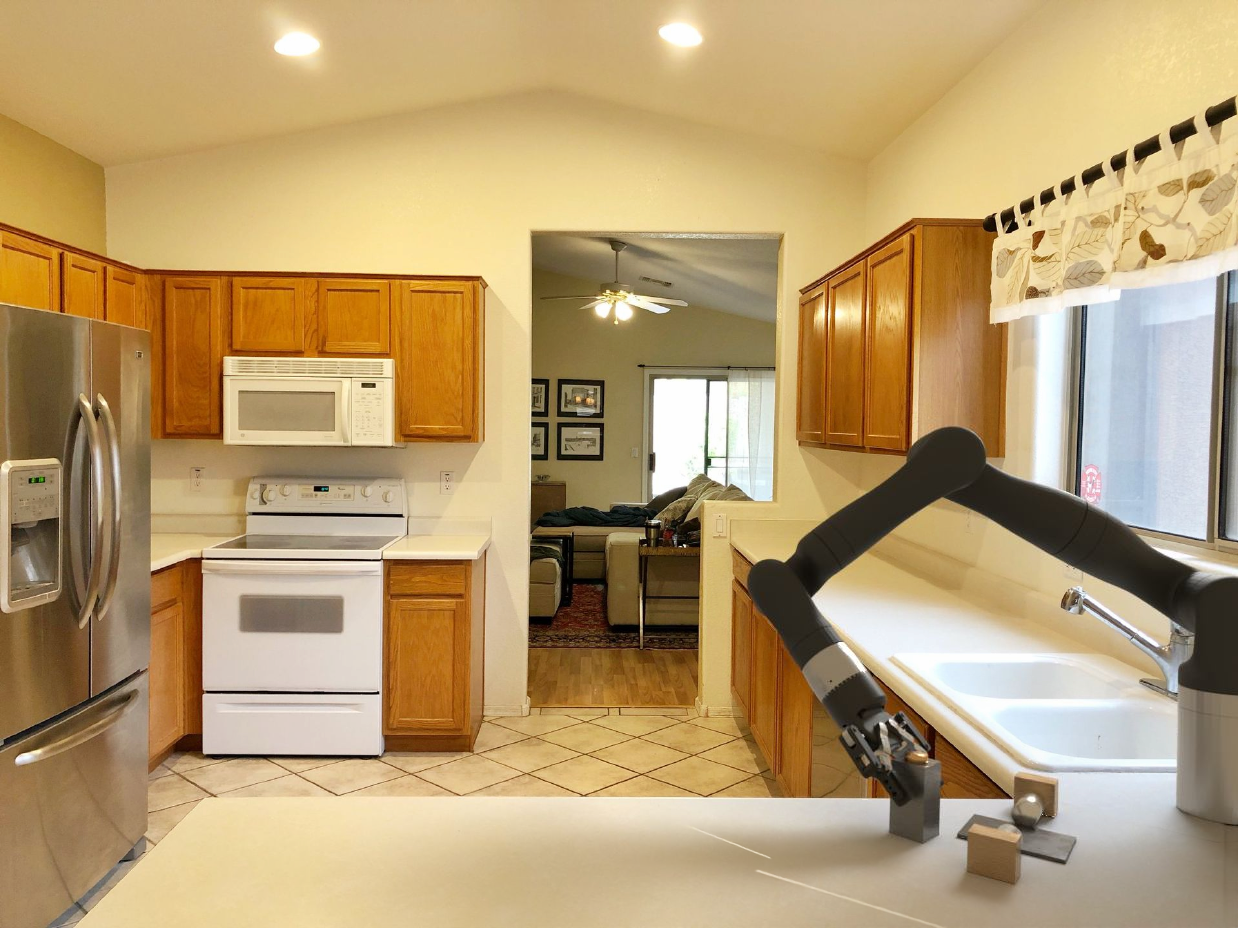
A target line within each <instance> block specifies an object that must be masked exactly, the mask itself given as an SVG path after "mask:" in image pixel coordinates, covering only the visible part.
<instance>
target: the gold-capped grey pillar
mask: <svg viewBox="0 0 1238 928" xmlns="http://www.w3.org/2000/svg"><path fill="white" fill-rule="evenodd" d="M890 761H891V765H892V770H891V771H893V770H895V771H896V773H897V774H898V776H899V777H900V778H901V780H902V781H903V783H904V784H905V785H906V787H907V788H908V790H909V791H910V792H911V794H912V796H913V798H912V800H910V801H909V802H908V803H906V804H905V805H904V806H901V807H899V806H897V805H896V803H895V802H894V800H893V799H892V798H891V797H890V796H889V820H888V821H889V824H888V826H889V827H888V833H889V834H892V835H895V836H899V837H901V838H904V839H907V840H911V841H914V842H917V843H918V844H921V845H922V844H925V843H927V842H928V841H930V839H931V840H933V839H934V838H936V837H938V836H939V835H940V822H941V821H940V820H941V819H940V815H941V813H940V812H941V788H940V783H941V778H942V776H941V775H942V774H941V773H942V761H940V760H936V759H933V758H929V754H928V753H927V754H926V753H923V752H919V751H905V752H904V755H902V756H899V757H896V758H895V757H894V758H890Z"/></svg>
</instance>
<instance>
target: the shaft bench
mask: <svg viewBox="0 0 1238 928" xmlns="http://www.w3.org/2000/svg"><path fill="white" fill-rule="evenodd" d="M1013 781H1014V782H1013V785H1014V786H1013V807H1012V809H1011V815H1010V816H1011V819H1012V822H1011V821H1008V820H1003V819H999V818H994V817H991V816H986V815H981V814H977V813H974V814H973V815H972V816H971V817H970V818H969V819H968V820H967V821H966V823H965V824H964V825H963V826H962V828H960V829H959V831H958V832H957V833H956V837H957V836H958V837H957V838H960V837H964V838H966V839H965V840H967V842H966V843H967V849H966V851H967V853H966V872H968V873H972V874H974V875H975V874H976V875H980V876H984V877H987V878H991V879H994V880H998V881H1002V882H1005V883H1010V884H1013V885H1016V884H1017V882H1018V880H1019V878H1020V877H1021V871H1022V870H1021V867H1022V854H1024V855H1029V856H1033V857H1036V858H1042V859H1044V860H1048V861H1052V862H1056V863H1057V862H1058V863H1061V864H1066V862H1067V861H1068V859H1069V857H1070V855H1071V852H1072V850H1073V848H1074V846H1075V844H1076V843H1077V836H1072V835H1070V834H1069V835H1068V834H1064V833H1059V832H1054V831H1050V830H1045V829H1043V828H1042V829H1041V828H1037V827H1035V825H1036V824H1037V823H1038V821H1039V820H1040V818H1041V816H1043V815H1047V816H1055V814H1056V813H1057V811H1058V812H1059V779H1058V778H1054V777H1049V776H1045V775H1038V774H1034V773H1028V772H1024V771H1017V773H1016V774H1015V775H1014V778H1013ZM1042 814H1043V815H1042ZM1057 814H1058V813H1057ZM1057 814H1056V815H1057ZM1047 816H1046V817H1047ZM1055 817H1056V816H1055ZM964 838H963V839H964Z"/></svg>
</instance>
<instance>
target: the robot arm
mask: <svg viewBox="0 0 1238 928" xmlns="http://www.w3.org/2000/svg"><path fill="white" fill-rule="evenodd" d="M986 449H987V448H986V447H985V444H984V442H983V440H982V439H981V437H979V435H978V434H976V433H975V432H974V431H972V430H971V429H969V428H966V427H962V426H958V425H957V426H954V425H949V426H943V427H940V428H937V429H935V430H933V431H931V432H929V433H927V434H925V435H923V436H922V437H920V438H919V439H917V440H916V441H915V442H914V443H912V445H911V446H910V448H909V449H908V451H907V454H906V462H905V464H903V466H901V467H900V468H899V469H898V470H897V471H896V472H894V473H893V474H891V476H889V477H888V478H887V479H885V480H884V481H883V482H881V483H880V484H878V485H877V486H876V487H874V488H873V489H871V490H870V491H868V492H866V493H865V494H863V495H861V496H860V497H858V498H857V499H855V500H853V501H851V502H850V503H848V504H846V505H845V506H843V507H842V508H841V509H839V510H838V511H836V512H835V513H833V514H832V515H830V516H829V517H828V518H826V519H825V520H823V521H822V522H821V523H820V524H818V525H817V526H816V527H814V528H813V529H811V531H809V532H807V534H805V535H804V536H803V537H802V538H800V540H798V543H797V545H796V548H795V550H794V551H795V552H794V553H793V554H792V555H791V556H790V557H788V559H786V561H785V562H784V561H782V560H780V559H775V558H767V559H761V560H759V561H758V562H756V563H755V564H753V566H752V567H751V568H750V569H749V572H748V575H747V578H746V588H747V592H748V594H749V596H750V598H751V600H752V602H753V605H754V607H755V608H756V610H757V611H758V612H759V613H760V614H761V615H762V616H763V617H765V618H767V620H768V621H769V622H770V624H771V626H772V627H773V628H774V629H775V631H776V632H777V634H778V635H779V637H780V639H781V641H782V643H783V644H784V646H785V648H786V651H787V652H788V654H789V655H790V657H791V658H792V660H793V661H794V662H795V664H796V666H797V668H799V669H800V671H801V672H802V674H803V676H804V677H805V679H806V681H807V683H808V685H809V687H810V688H811V690H812V692H813V693H814V694H815V695H816V697H817V699H818V701H820V703H821V704H822V706H823V707H824V709H825V710H826V711H827V713H828V715H830V717H831V719H832V720H833V722H834V723H835V724H836V726H837V728H839V730H841V731H842V732H841V734H839V735H838V740H839V743H841V746H842V747H843V748H844V750H845V751H846V753H847V755H848V757H850V759H851V761H852V763H854V765H855V767H856V769H857V770H858V771H859V773H860V774H861V776H862V777H863V778H865V779H866V780H868V779H869V778H873V779H874V780H875V781H877V782H878V781H879V782H880V784H881V785H882V787H883V788H884V789H885V791H886V792H887V794H888V796H889V798H890V797H891V798H892V799H893V800H894V802H895V803H896V805H897V806H899V807H901V806H904V805H905V804H906V803H908V802H909V801H910V800H912V798H913V796H912V794H911V792H910V791H909V790H908V788H907V787H906V785H905V784H904V783H903V781H902V780H901V778H900V777H899V776H898V774H897V773H896V771H895V770H893V771H891V770H892V765H891V758H890V757H891V755H892V757H894V758H896V757H899V756H902V755H904V752H905V751H919V752H923V753H926V754H928V752H929V751H930V750H931V745H930V744H929V742H927V740H926V739H925V737H924V736H923V735H922V734H921V732H920V731H919V730H918V728H917V727H916V726H915V725H914V724H913V722H912V721H911V720H910V719H909V717H908V716H907V715H906V714H905V712H904V711H902V710H899V711H898V712H897V713H895V714H894V715H893V716H892V715H891V714H890V713H889V712H887V710H886V709H885V705H886V704H887V702H888V697H887V694H886V693H885V692H884V690H883V689H882V687H881V686H880V685H879V684H878V682H877V681H876V680H875V679H874V677H873V676H872V674H871V673H870V672H869V670H868V669H867V668H866V667H865V665H864V663H862V661H861V660H860V658H859V657H858V656H857V654H855V652H853V650H852V649H851V648H850V647H849V646H847V644H846V643H845V642H844V640H843V639H842V638H841V637H840V635H839V634H838V632H837V631H836V630H835V628H834V626H833V625H831V623H830V622H829V621H828V619H827V618H826V617H825V616H824V615H823V614H822V613H821V612H820V610H819V609H818V607H817V605H816V604H815V601H814V600H813V597H814V596H815V595H816V594H817V593H818V592H819V591H820V590H821V589H822V588H823V586H824V585H825V584H826V583H827V582H828V581H829V580H830V579H831V578H832V577H834V576H835V575H838V573H840V572H842V570H844V569H845V568H847V567H848V566H849V565H850V564H852V563H853V562H854V561H856V560H857V559H858V558H859V557H860V556H862V555H863V554H865V553H866V552H868V551H869V550H870V549H871V548H873V547H874V546H875V545H876V544H877V543H878V542H880V541H881V540H882V539H883V538H886V536H888V535H889V534H890V533H891V532H892V531H894V530H895V529H896V528H898V527H899V526H900V525H902V524H903V523H904V522H906V521H907V520H908V519H910V518H911V517H913V516H914V515H916V514H917V513H918V512H920V511H921V510H923V509H925V508H927V507H928V506H930V505H932V504H933V503H934V502H936V501H938V500H940V499H946V500H948V501H950V502H952V503H955V504H957V505H960V506H962V507H965V508H967V509H970V510H971V511H973V512H976V513H978V514H980V515H981V516H984V517H986V518H987V519H990V520H991V521H993V522H995V523H996V524H997V525H999V526H1001V527H1002V528H1003V529H1005V530H1007V531H1009V532H1010V533H1012V534H1014V535H1016V536H1017V537H1018V538H1021V539H1022V540H1024V541H1026V542H1027V543H1029V544H1030V545H1033V546H1035V548H1038V549H1040V550H1042V552H1045V553H1046V554H1048V555H1050V556H1052V557H1054V558H1056V559H1057V560H1059V561H1061V562H1063V563H1065V564H1066V565H1068V566H1070V567H1072V568H1075V569H1076V570H1079V571H1080V572H1083V573H1085V574H1087V575H1089V576H1092V577H1094V578H1095V579H1097V580H1100V581H1102V582H1104V583H1106V584H1110V585H1111V586H1113V587H1116V588H1119V589H1121V590H1124V591H1126V592H1128V593H1129V594H1131V595H1133V596H1135V597H1137V598H1138V599H1140V600H1141V601H1143V602H1144V603H1146V604H1147V605H1148V606H1150V607H1152V608H1153V609H1155V610H1156V611H1158V612H1159V613H1160V614H1162V615H1163V616H1165V617H1166V618H1168V619H1169V620H1170V621H1172V622H1173V623H1174V624H1176V625H1178V626H1179V627H1181V628H1182V629H1184V630H1185V631H1187V632H1190V633H1192V634H1193V636H1194V637H1193V646H1192V647H1193V648H1192V654H1191V656H1190V658H1189V659H1188V660H1185V661H1183V662H1181V663H1180V664H1179V665H1178V667H1177V703H1176V704H1177V714H1176V717H1177V724H1176V727H1177V729H1176V732H1177V733H1176V777H1175V778H1176V782H1175V783H1176V785H1175V787H1176V792H1175V797H1176V799H1175V805H1176V807H1177V809H1179V810H1180V811H1182V812H1184V813H1186V814H1188V815H1189V816H1193V817H1196V818H1198V819H1199V818H1200V819H1203V820H1206V821H1211V822H1216V823H1220V824H1227V825H1228V824H1229V825H1236V826H1238V575H1233V574H1225V573H1219V572H1216V573H1215V572H1211V571H1206V570H1202V569H1199V568H1196V567H1194V566H1191V565H1188V564H1187V563H1184V562H1182V561H1179V560H1177V559H1175V558H1173V557H1171V556H1169V555H1166V554H1164V553H1162V552H1161V551H1159V550H1157V549H1155V548H1154V547H1152V546H1151V545H1149V544H1148V543H1147V542H1146V541H1145V540H1144V539H1142V538H1141V537H1140V536H1139V535H1138V534H1137V533H1136V532H1135V531H1134V530H1133V529H1132V528H1130V526H1129V525H1127V524H1126V523H1125V522H1124V521H1122V520H1120V518H1118V517H1117V516H1115V515H1113V514H1111V513H1110V512H1109V511H1107V510H1106V509H1103V508H1101V507H1100V506H1098V505H1096V504H1094V503H1091V502H1089V500H1086V499H1084V498H1082V497H1080V496H1077V495H1075V494H1073V493H1071V492H1068V491H1065V490H1062V489H1061V488H1057V487H1054V486H1050V485H1047V484H1043V483H1040V482H1036V481H1033V480H1029V479H1026V478H1023V477H1020V476H1019V477H1018V476H1015V475H1013V474H1010V473H1008V472H1006V471H1003V470H1002V469H1000V468H998V467H996V466H994V465H993V464H991V463H990V462H988V461H987V450H986ZM915 740H916V742H917V743H916V742H915ZM862 757H863V759H864V761H863V759H862ZM944 785H945V780H944V779H943V778H942V777H941V783H940V789H941V788H942V787H944Z"/></svg>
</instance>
